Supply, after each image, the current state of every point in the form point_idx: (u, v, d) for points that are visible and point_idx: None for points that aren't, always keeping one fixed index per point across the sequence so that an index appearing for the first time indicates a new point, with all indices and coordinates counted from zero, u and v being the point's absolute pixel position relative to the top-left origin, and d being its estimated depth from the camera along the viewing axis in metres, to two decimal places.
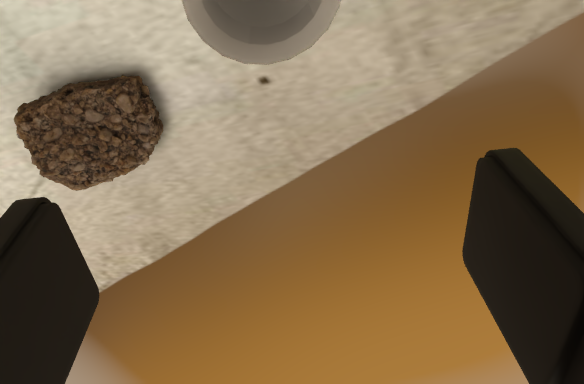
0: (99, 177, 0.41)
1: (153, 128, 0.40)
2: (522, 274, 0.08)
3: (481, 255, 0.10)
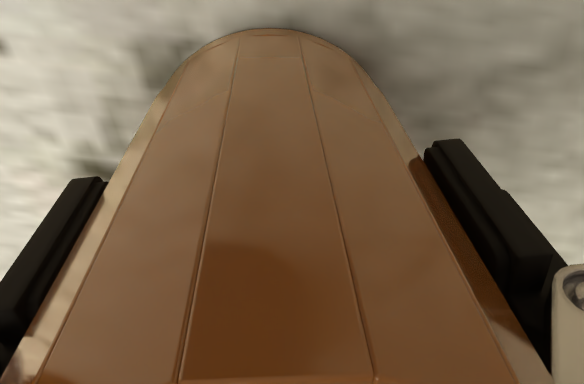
0: None
1: None
2: None
3: None
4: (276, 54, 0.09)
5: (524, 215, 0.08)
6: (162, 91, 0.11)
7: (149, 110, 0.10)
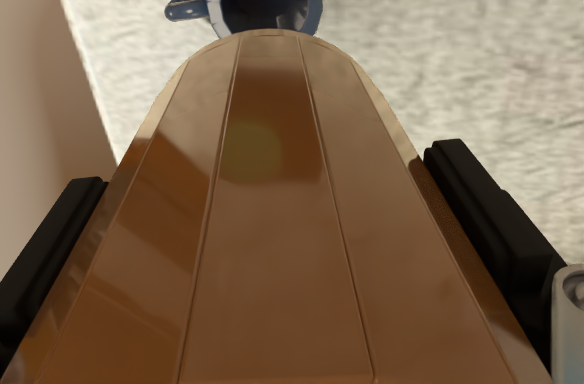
0: None
1: None
2: None
3: None
4: (276, 55, 0.09)
5: (524, 215, 0.08)
6: (162, 92, 0.11)
7: (149, 111, 0.10)
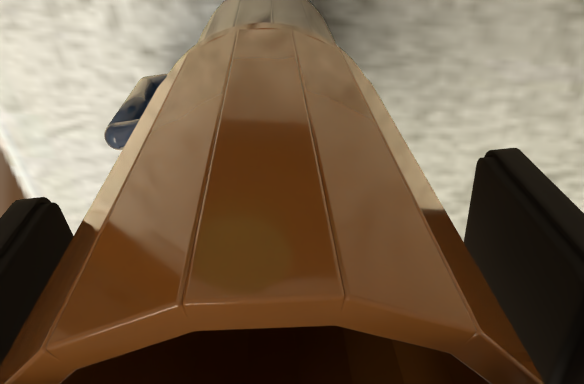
0: None
1: None
2: (522, 274, 0.08)
3: (481, 255, 0.10)
4: (270, 45, 0.10)
5: None
6: (163, 82, 0.12)
7: (151, 99, 0.11)
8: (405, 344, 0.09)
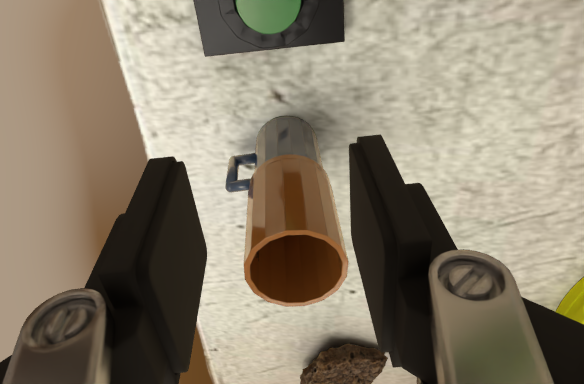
0: None
1: (374, 378, 0.65)
2: (368, 244, 0.09)
3: (356, 232, 0.11)
4: (293, 168, 0.34)
5: (432, 206, 0.09)
6: (257, 175, 0.36)
7: (255, 181, 0.35)
8: (330, 254, 0.33)
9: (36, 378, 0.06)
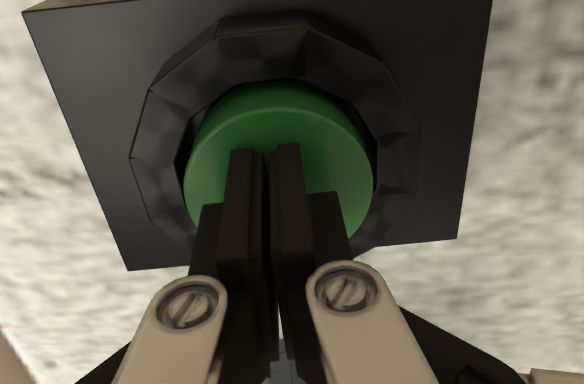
0: None
1: None
2: None
3: None
4: None
5: (340, 215, 0.09)
6: None
7: None
8: None
9: (153, 361, 0.06)
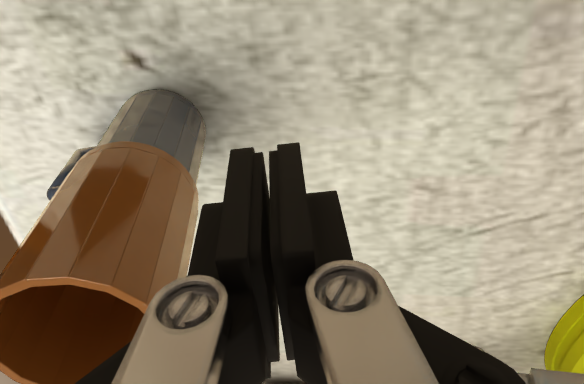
0: None
1: None
2: None
3: None
4: (112, 163, 0.21)
5: (340, 215, 0.09)
6: (67, 175, 0.22)
7: (60, 186, 0.22)
8: None
9: (153, 361, 0.06)
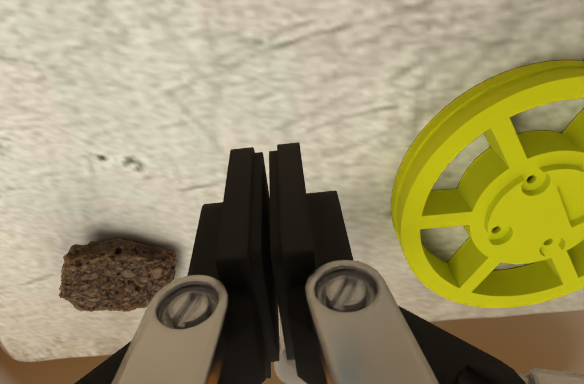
0: (104, 308, 0.49)
1: None
2: None
3: None
4: None
5: (340, 215, 0.09)
6: None
7: None
8: None
9: (153, 361, 0.06)
